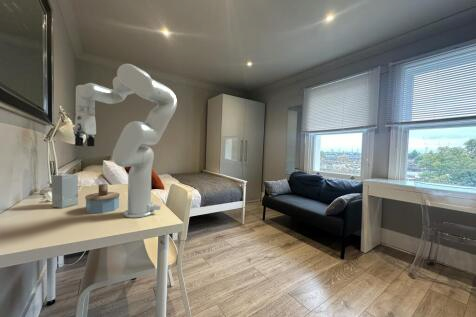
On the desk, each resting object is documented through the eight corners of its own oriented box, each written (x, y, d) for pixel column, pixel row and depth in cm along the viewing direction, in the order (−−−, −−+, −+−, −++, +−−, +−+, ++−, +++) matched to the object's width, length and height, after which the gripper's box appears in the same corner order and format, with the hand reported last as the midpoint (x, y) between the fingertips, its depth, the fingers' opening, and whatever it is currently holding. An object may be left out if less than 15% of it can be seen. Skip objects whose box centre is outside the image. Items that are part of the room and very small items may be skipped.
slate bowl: (121, 205, 103) (121, 194, 103) (110, 212, 91) (110, 199, 91) (95, 206, 101) (95, 194, 101) (81, 213, 89) (81, 200, 89)
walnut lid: (124, 194, 103) (124, 182, 103) (111, 200, 90) (111, 187, 90) (95, 194, 102) (95, 182, 101) (78, 200, 88) (78, 187, 88)
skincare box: (62, 208, 96) (62, 175, 95) (50, 207, 97) (50, 175, 96) (79, 204, 104) (79, 173, 103) (68, 202, 105) (68, 173, 105)
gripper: (83, 108, 91) (83, 145, 91) (102, 115, 108) (102, 146, 108) (64, 107, 89) (64, 145, 90) (87, 114, 106) (87, 146, 107)
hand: (85, 146), depth 99 cm, fingers open, 9 cm apart
